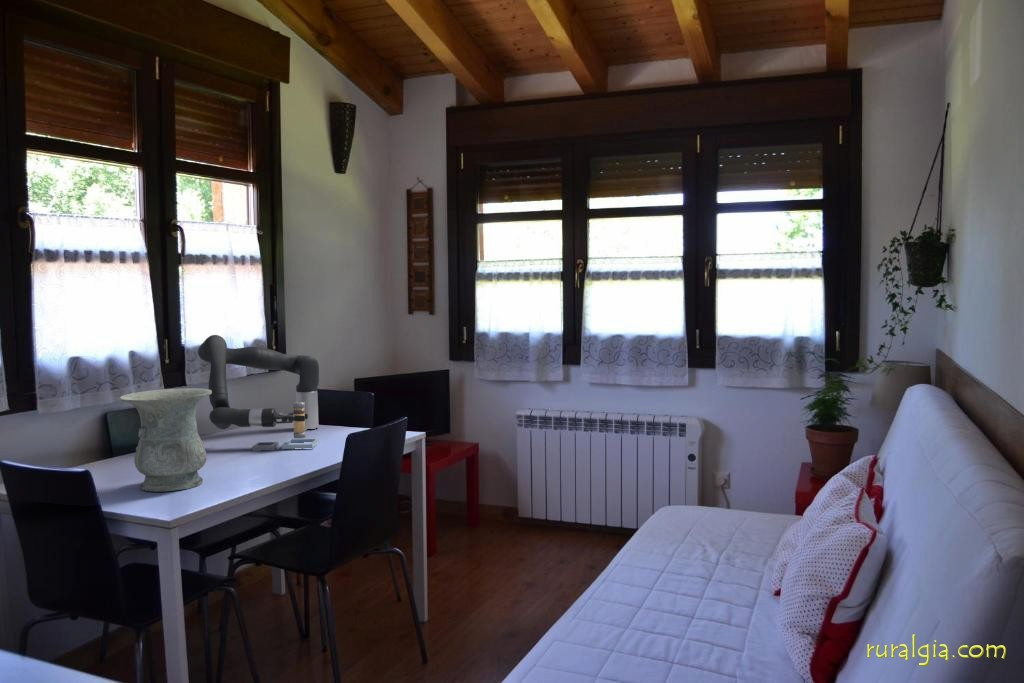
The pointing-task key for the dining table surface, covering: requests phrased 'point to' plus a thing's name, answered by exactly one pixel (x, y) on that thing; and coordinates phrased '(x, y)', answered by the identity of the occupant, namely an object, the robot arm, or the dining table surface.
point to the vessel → (169, 438)
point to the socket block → (265, 446)
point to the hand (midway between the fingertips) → (306, 417)
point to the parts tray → (292, 446)
